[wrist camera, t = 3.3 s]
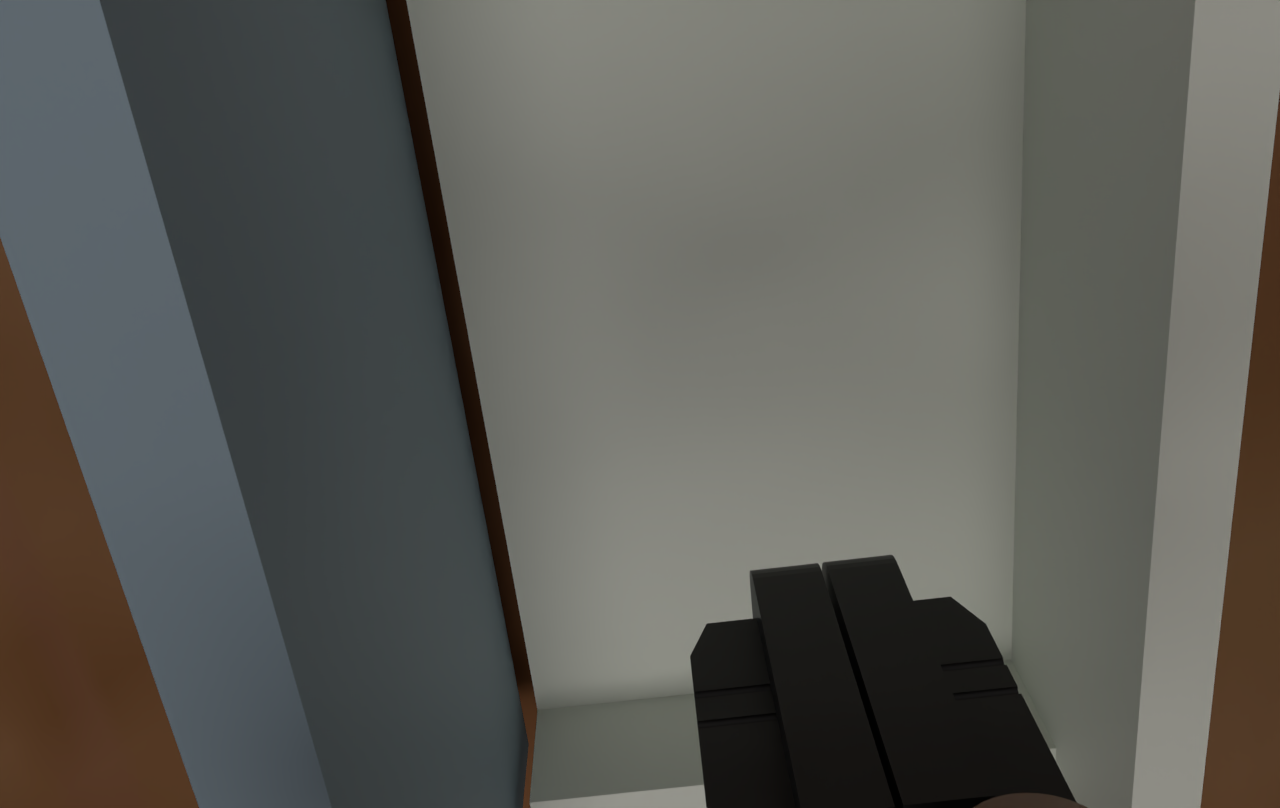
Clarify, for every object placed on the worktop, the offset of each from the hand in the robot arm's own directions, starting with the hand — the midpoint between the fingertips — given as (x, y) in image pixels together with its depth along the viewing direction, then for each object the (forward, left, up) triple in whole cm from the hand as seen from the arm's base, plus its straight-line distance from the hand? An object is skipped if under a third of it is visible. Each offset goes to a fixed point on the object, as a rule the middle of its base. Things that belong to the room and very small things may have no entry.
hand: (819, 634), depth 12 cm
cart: (-1, 0, -10) cm, 10 cm away
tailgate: (+5, 0, -8) cm, 10 cm away
